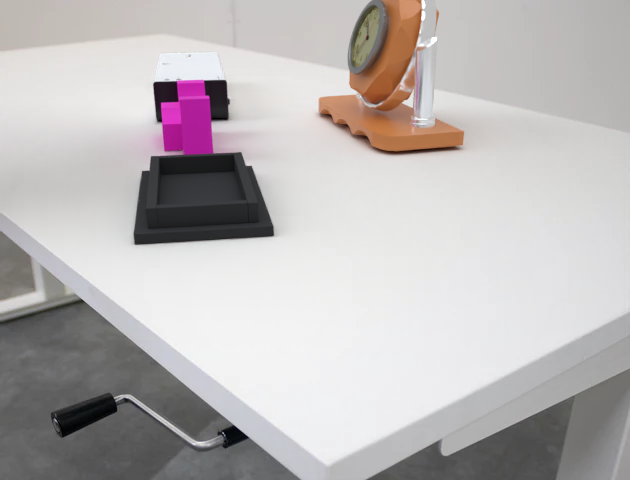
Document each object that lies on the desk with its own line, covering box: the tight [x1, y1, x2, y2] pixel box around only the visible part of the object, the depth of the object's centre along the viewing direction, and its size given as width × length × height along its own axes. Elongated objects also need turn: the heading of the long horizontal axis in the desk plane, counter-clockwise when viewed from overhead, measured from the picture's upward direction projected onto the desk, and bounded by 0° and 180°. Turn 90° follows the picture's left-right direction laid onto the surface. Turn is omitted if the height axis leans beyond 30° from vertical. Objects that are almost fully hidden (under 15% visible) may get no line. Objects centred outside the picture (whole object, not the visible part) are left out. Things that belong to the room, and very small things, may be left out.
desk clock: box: [318, 0, 465, 153], centre depth 109 cm, size 12×30×20 cm, turn 18°
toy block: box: [161, 80, 214, 155], centre depth 103 cm, size 15×6×8 cm, turn 11°
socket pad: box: [133, 151, 275, 245], centre depth 80 cm, size 13×22×3 cm, turn 10°
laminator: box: [152, 51, 235, 122], centre depth 132 cm, size 34×12×6 cm, turn 9°
